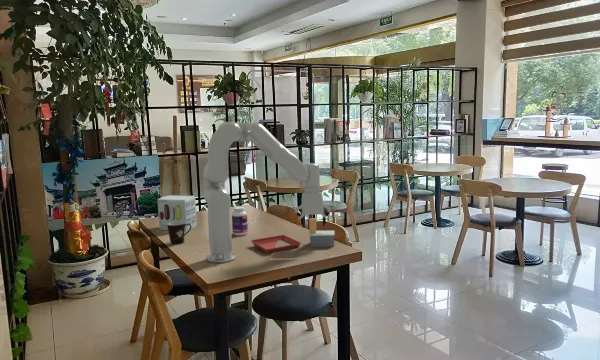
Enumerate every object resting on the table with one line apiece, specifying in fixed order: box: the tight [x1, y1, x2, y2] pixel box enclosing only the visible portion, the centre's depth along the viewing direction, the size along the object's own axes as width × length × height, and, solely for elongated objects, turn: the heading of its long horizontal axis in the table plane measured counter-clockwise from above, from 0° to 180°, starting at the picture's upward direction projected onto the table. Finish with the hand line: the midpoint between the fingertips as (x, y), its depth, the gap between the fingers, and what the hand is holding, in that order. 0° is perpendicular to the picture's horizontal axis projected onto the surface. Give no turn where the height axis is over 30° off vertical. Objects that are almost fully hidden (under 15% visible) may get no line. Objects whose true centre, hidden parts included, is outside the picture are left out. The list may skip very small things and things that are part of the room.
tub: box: [309, 236, 335, 248], centre depth 212 cm, size 7×11×6 cm, turn 86°
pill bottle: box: [231, 206, 249, 236], centre depth 239 cm, size 8×8×14 cm
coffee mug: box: [167, 222, 192, 246], centre depth 226 cm, size 12×9×10 cm
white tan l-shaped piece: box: [308, 217, 336, 237], centre depth 211 cm, size 8×12×8 cm, turn 87°
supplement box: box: [157, 195, 198, 232], centre depth 257 cm, size 17×13×18 cm
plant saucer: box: [250, 234, 302, 255], centre depth 212 cm, size 18×18×3 cm
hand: (313, 225), depth 211 cm, fingers open, 9 cm apart
